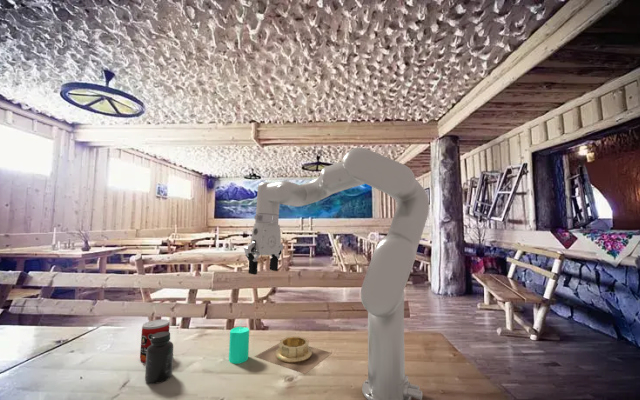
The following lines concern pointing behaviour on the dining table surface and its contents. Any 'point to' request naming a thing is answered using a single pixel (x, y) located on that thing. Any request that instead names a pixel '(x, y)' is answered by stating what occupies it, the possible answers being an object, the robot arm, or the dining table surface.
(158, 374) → the supplement bottle
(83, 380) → the dining table surface
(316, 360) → the walnut board
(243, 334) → the candle
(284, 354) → the candle holder
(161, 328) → the canned food
